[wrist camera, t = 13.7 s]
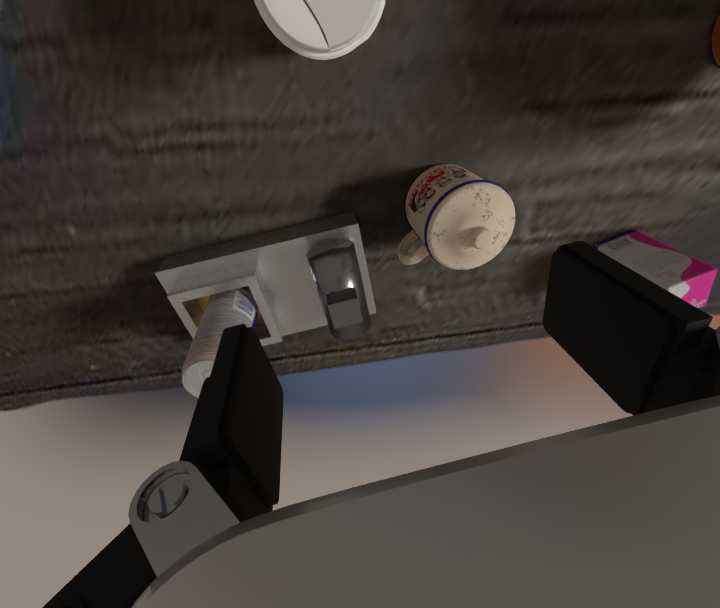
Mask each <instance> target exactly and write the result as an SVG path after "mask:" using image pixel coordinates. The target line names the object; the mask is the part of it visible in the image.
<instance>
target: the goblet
mask: <svg viewBox="0 0 720 608" xmlns="http://www.w3.org/2000/svg"><path fill="white" fill-rule="evenodd" d="M711 41H712V52H713V55H714V58H715V60H716V63H717V64H718V65H719V66H720V14H719V16H718V18H717V19H716V22H715V25H714V29H713V33H712V37H711Z"/></svg>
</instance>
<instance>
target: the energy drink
mask: <svg viewBox="0 0 720 608" xmlns="http://www.w3.org/2000/svg"><path fill="white" fill-rule="evenodd" d="M257 314H258V306H257V304H256V301H255V299H254V297H253V295H252V293H251V292H249V291H248V290H246V289H244V288H242V287H241V288H237V289H233V290H229V291H225V292H221V293H217V294H212V295H211V296H210V298H209V301H208V303H207V306H206V308H205V311H204V313H203V316H202V319H201V321H200V324H199V326H198V329H197V331H196V334H195V337H194V339H193V342H192V344H191V347H190V349H189V352H188V355H187V357H186V360H185V362H184V365H183V368H182V383H183V386H184V388H185V389H186V390H187V391H188V392H189V393H190V394H191V395H193V396H194V397H197V398H199V395H200V392H201V388H202V385H203V382H204V380H205V379H206V378H207V377H210V374H211V371H212V368H213V364H214V361H215V357H216V354H217V350H218V347H219V343H220V340H221V336H222V333H223V330H224V329H225V328H227V327H231V326H236V325H240V324H245V325H246V326H247V327H253V328H254V330H255V326H256V320H257Z"/></svg>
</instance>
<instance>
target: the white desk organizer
mask: <svg viewBox="0 0 720 608" xmlns="http://www.w3.org/2000/svg"><path fill="white" fill-rule="evenodd" d="M155 275H156V276H157V278H158V280H159V281H160V283H161V284H162V286H163V288H164V289H165V291H166V293H167V294H168V295H167V298H168V299H169V301H170V302H171V304H172V306H173V307H174V309H175V310H176V312H177V314H178V315H179V317H180V318H181V320H182V322H183V323H184V325H185V326H186V328H187V330H188V331H189V333H190V334H191V336H192V338H193V339H194V337H195V334H196V331H197V329H198V326H199V324H200V321H201V319H202V316H203V313H204V311H205V308H206V306H207V303H208V301H209V298H210V296H211V295H212V294H217V293H221V292H225V291H229V290H233V289H237V288H241V287H242V288H244V289H246V290H248V291H249V292H251V293H252V295H253V297H254V299H255V301H256V304H257V306H258V314H257V320H256V326H255V332H256V334H257V336H258V338H259V340H260V343H261V345H262V346H265V345H269V344H273V343H277V342H281V341H283V336H284V335H288V334H292V333H296V332H300V331H304V330H309V329H313V328H317V327H321V326H325V325H328V327H329V330H330V333H331V334H332V336H334V337H335V338H338V339H343V340H348V339H354V338H357V337H359V336H361V335H363V334H364V333H366V332H367V331H368V330H369V328H370V326H371V318H370V314H373V313H376V308H375V303H374V298H373V293H372V288H371V283H370V279H369V274H368V269H367V264H366V259H365V254H364V249H363V244H362V239H361V234H360V229H359V224H358V222H357V219H356V217H355V214H354V212H353V211H352V212H348V213H344V214H340V215H336V216H332V217H327V218H323V219H319V220H315V221H311V222H307V223H303V224H298V225H294V226H290V227H286V228H282V229H278V230H274V231H269V232H265V233H261V234H257V235H253V236H249V237H245V238H240V239H236V240H232V241H228V242H224V243H220V244H216V245H211V246H207V247H203V248H199V249H195V250H191V251H187V252H182V253H178V254H174V255H170V256H166V258H165V259H164V260H163V262H162V263H161V265H160V266H159V267H158V269H157V270H156V271H155Z"/></svg>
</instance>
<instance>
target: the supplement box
mask: <svg viewBox="0 0 720 608" xmlns="http://www.w3.org/2000/svg"><path fill="white" fill-rule="evenodd" d="M595 249H597V250H599V251H600V252H602V253H604V254H606V255H607V256H609V257H611V258H612V259H614V260H616V261H618V262H619V263H621V264H623V265H624V266H626V267H628V268H630V269H631V270H633V271H635V272H636V273H638V274H640V275H642V276H643V277H645V278H647V279H648V280H650V281H652V282H654V283H655V284H657V285H659V286H660V287H662V288H664V289H666V290H667V291H669V292H671V293H672V294H674V295H676V296H678V297H679V298H681V299H683V300H684V301H686V302H688V303H690V304H691V305H693V306H695V307H696V308H700V307H703V306H705V305H706V303H707V300H708V297H709V293H710V290H711V287H712V284H713V281H714V279H715V276H716V273H717V269H716V268H714V267H712V266H710V265H708V264H706V263H704V262H701V261H699V260H697V259H695V258H693V257H691V256H689V255H687V254H684V253H682V252H680V251H678V250H676V249H674V248H672V247H670V246H668V245H665V244H663V243H661V242H659V241H657V240H655V239H653V238H651V237H649V236H646V235H644V234H642V233H640V232H638V231H636V230H632V231H629V232H627V233H624V234H622V235H619V236H616V237H614V238H611V239H609V240H606V241H604V242H601V243H599V244H596V245H595Z"/></svg>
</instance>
